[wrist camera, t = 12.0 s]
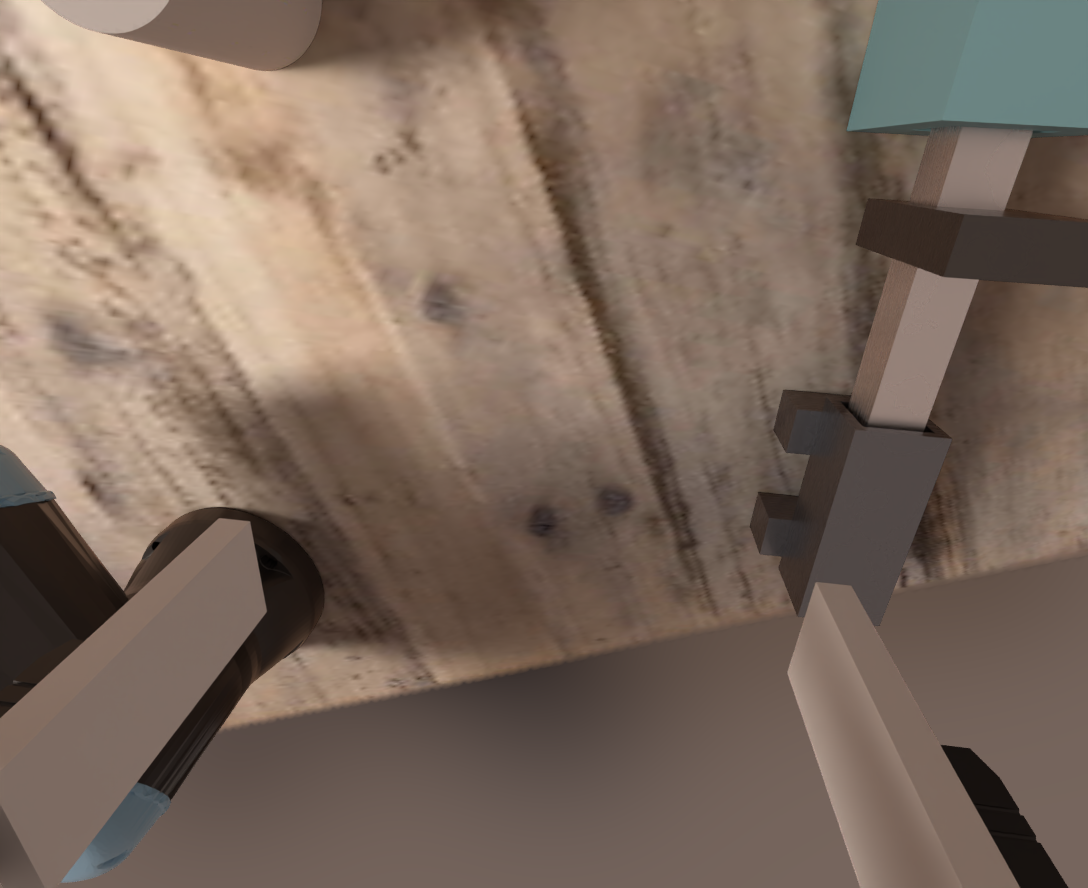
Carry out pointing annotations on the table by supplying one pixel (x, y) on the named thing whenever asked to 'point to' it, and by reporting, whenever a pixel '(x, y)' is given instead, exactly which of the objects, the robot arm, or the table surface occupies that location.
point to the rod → (951, 265)
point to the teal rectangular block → (975, 67)
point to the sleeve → (847, 500)
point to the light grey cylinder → (206, 26)
